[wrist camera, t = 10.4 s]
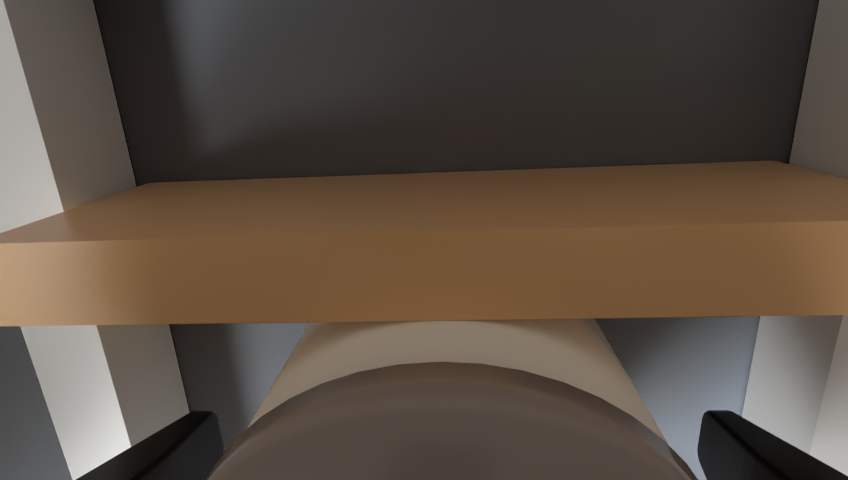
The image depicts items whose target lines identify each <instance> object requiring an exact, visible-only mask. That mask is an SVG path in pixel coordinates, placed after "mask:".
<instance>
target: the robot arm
mask: <svg viewBox="0 0 848 480" xmlns="http://www.w3.org/2000/svg"><path fill="white" fill-rule="evenodd" d="M222 455H223V442H222V437H221V433H220V428H219V423H218V419H217V416H216V414H215V413H214V412H212V411H192V412H190V413H188V414H186V415H185V416H183V417H181V418H180V419H178V420H176V421H174V422H173V423H171V424H169V425H168V426H166V427H164V428H163V429H161V430H159V431H157V432H156V433H154V434H152V435H151V436H149V437H147V438H146V439H144V440H142V441H140V442H139V443H137V444H135V445H134V446H132V447H130V448H129V449H127V450H125V451H123V452H122V453H120V454H118V455H117V456H115V457H113V458H112V459H110V460H108V461H106V462H105V463H103V464H101V465H100V466H98V467H96V468H94V469H93V470H91V471H89V472H88V473H86V474H84V475H83V476H81V477H79V478H77V479H76V480H206V479H207V477H208V476H209V474H210V473H211V471H212V469H213V468H214V466H215V464H216V463H217V461H218V460H219V459H220V458H221V456H222ZM698 458H699V461H700V464H701V467H702V469H703V471H704V474H705V476H706V479H707V480H848V476H847V475H845V474H843V473H841V472H839V471H838V470H836V469H834V468H832V467H831V466H829V465H827V464H825V463H823V462H822V461H820V460H818V459H816V458H814V457H813V456H811V455H809V454H807V453H805V452H804V451H802V450H800V449H798V448H797V447H795V446H793V445H791V444H789V443H788V442H786V441H784V440H782V439H780V438H779V437H777V436H775V435H773V434H771V433H770V432H768V431H766V430H764V429H762V428H761V427H759V426H757V425H755V424H754V423H752V422H750V421H748V420H746V419H745V418H743V417H741V416H739V415H737V414H736V413H734V412H732V411H728V410H709V411H707V412H705V413H704V415H703V418H702V423H701V429H700V436H699V442H698Z"/></svg>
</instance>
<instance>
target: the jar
mask: <svg viewBox="0 0 848 480" xmlns="http://www.w3.org/2000/svg"><path fill="white" fill-rule="evenodd" d="M206 480H698V479H697V478H696V476H695V475H694V474H693V472H692V471H691V469H690V468H689V467H688V465H687V464H686V463H685V462H684V461H683V460H682V459H681V458H680V456H679V455H678V454H677V453H676V452H675V451H674V450H673V449H672V448H671V447H670V446H669V445H668V443H667V442H666V440H665V438H664V437H663V435H662V433H661V431H660V430H659V428H658V426H657V425H656V423H655V421H654V419H653V418H652V416H651V414H650V413H649V411H648V409H647V407H646V406H645V404H644V402H643V401H642V399H641V397H640V396H639V394H638V392H637V390H636V389H635V387H634V385H633V384H632V382H631V380H630V378H629V377H628V375H627V373H626V372H625V370H624V368H623V366H622V365H621V363H620V361H619V360H618V358H617V356H616V354H615V353H614V351H613V349H612V348H611V346H610V344H609V342H608V341H607V339H606V337H605V336H604V334H603V332H602V330H601V329H600V327H599V325H598V324H597V322H596V320H595V318H587V319H513V320H439V321H365V322H310V323H309V325H308V327H307V328H306V330H305V332H304V333H303V335H302V337H301V338H300V340H299V342H298V344H297V345H296V347H295V349H294V350H293V352H292V354H291V355H290V357H289V359H288V360H287V362H286V364H285V365H284V367H283V369H282V370H281V372H280V374H279V375H278V377H277V379H276V380H275V382H274V384H273V385H272V387H271V389H270V391H269V392H268V394H267V396H266V397H265V399H264V401H263V402H262V404H261V406H260V407H259V409H258V411H257V412H256V414H255V416H254V417H253V419H252V421H251V422H250V424H249V426H248V427H247V429H246V430H245V431H244V432H243V433H242V434H241V435H240V436H238V437H237V438H236V440H235V441H234V442H233V443H232V444H231V446H230V447H229V448H228V449H227V450H226V452H225V453H224V454H223V455H222V456H221V458H220V459H219V460H218V461H217V463H216V464H215V466H214V468H213V469H212V471H211V473H210V474H209V476H208V477H207V479H206Z"/></svg>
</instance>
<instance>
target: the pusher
mask: <svg viewBox="0 0 848 480" xmlns="http://www.w3.org/2000/svg"><path fill="white" fill-rule="evenodd" d="M808 315H848V179H844V178H840V177H836V176H832V175H828V174H824V173H820V172H816V171H812V170H808V169H804V168H801V167H797V166H793V165H789V164H785V163H781V162H777V161H773V160H772V161H744V162H716V163H688V164H660V165H632V166H604V167H576V168H548V169H520V170H491V171H463V172H435V173H407V174H379V175H351V176H323V177H295V178H267V179H239V180H211V181H183V182H155V183H147V184H144V185H141V186H138V187H135V188H132V189H129V190H126V191H123V192H120V193H118V194H115V195H112V196H109V197H106V198H103V199H100V200H97V201H94V202H91V203H88V204H85V205H82V206H79V207H76V208H73V209H70V210H67V211H64V212H61V213H58V214H55V215H52V216H49V217H47V218H44V219H41V220H38V221H35V222H32V223H29V224H26V225H23V226H20V227H17V228H14V229H11V230H8V231H5V232H2V233H0V326H70V325H143V324H217V323H291V322H365V321H439V320H513V319H587V318H661V317H735V316H808Z"/></svg>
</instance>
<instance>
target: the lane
mask: <svg viewBox="0 0 848 480" xmlns="http://www.w3.org/2000/svg"><path fill="white" fill-rule="evenodd" d="M789 165H793V166H797V167H801V168H804V169H808V170H812V171H816V172H820V173H824V174H828V175H832V176H836V177H840V178H844V179H848V0H819V5H818V10H817V16H816V21H815V26H814V32H813V37H812V43H811V48H810V53H809V59H808V64H807V69H806V75H805V80H804V85H803V91H802V96H801V101H800V107H799V112H798V118H797V123H796V128H795V134H794V139H793V144H792V150H791V155H790V160H789ZM135 187H137V186H136V182H135V178H134V174H133V169H132V165H131V161H130V157H129V152H128V148H127V144H126V139H125V135H124V131H123V127H122V122H121V118H120V114H119V110H118V105H117V101H116V97H115V93H114V88H113V84H112V80H111V76H110V71H109V67H108V63H107V58H106V54H105V50H104V46H103V41H102V37H101V33H100V29H99V24H98V20H97V16H96V12H95V7H94V3H93V0H0V233H2V232H5V231H8V230H11V229H14V228H17V227H20V226H23V225H26V224H29V223H32V222H35V221H38V220H41V219H44V218H47V217H49V216H52V215H55V214H58V213H61V212H64V211H67V210H70V209H73V208H76V207H79V206H82V205H85V204H88V203H91V202H94V201H97V200H100V199H103V198H106V197H109V196H112V195H115V194H118V193H120V192H123V191H126V190H129V189H132V188H135ZM20 327H21V330H22V333H23V336H24V339H25V342H26V345H27V348H28V351H29V354H30V356H31V359H32V362H33V365H34V368H35V371H36V374H37V377H38V380H39V383H40V386H41V389H42V392H43V395H44V397H45V400H46V403H47V406H48V409H49V412H50V415H51V418H52V421H53V424H54V427H55V430H56V433H57V436H58V439H59V441H60V444H61V447H62V450H63V453H64V456H65V459H66V462H67V465H68V468H69V471H70V474H71V477H72V480H76V479H77V478H79V477H81V476H83V475H84V474H86V473H88V472H89V471H91V470H93V469H94V468H96V467H98V466H100V465H101V464H103V463H105V462H106V461H108V460H110V459H112V458H113V457H115V456H117V455H118V454H120V453H122V452H123V451H125V450H127V449H129V448H130V447H132V446H134V445H135V444H137V443H139V442H140V441H142V440H144V439H146V438H147V437H149V436H151V435H152V434H154V433H156V432H157V431H159V430H161V429H163V428H164V427H166V426H168V425H169V424H171V423H173V422H174V421H176V420H178V419H180V418H181V417H183V416H185V415H186V414H188V413H190V412H189V408H188V404H187V400H186V395H185V391H184V387H183V383H182V378H181V374H180V370H179V366H178V361H177V357H176V353H175V348H174V344H173V340H172V336H171V331H170V327H169V324H143V325H70V326H20ZM742 417H743V418H745V419H746V420H748V421H750V422H752V423H754V424H755V425H757V426H759V427H761V428H762V429H764V430H766V431H768V432H770V433H771V434H773V435H775V436H777V437H779V438H780V439H782V440H784V441H786V442H788V443H789V444H791V445H793V446H795V447H797V448H798V449H800V450H802V451H804V452H805V453H807V454H809V455H811V456H813V457H814V458H816V459H818V460H820V461H822V462H823V463H825V464H827V465H829V466H831V467H832V468H834V469H836V470H838V471H839V472H841V473H843V474H845V475H847V476H848V315H808V316H760V321H759V327H758V332H757V337H756V343H755V348H754V353H753V359H752V364H751V369H750V375H749V380H748V386H747V391H746V396H745V402H744V407H743V412H742Z"/></svg>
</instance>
